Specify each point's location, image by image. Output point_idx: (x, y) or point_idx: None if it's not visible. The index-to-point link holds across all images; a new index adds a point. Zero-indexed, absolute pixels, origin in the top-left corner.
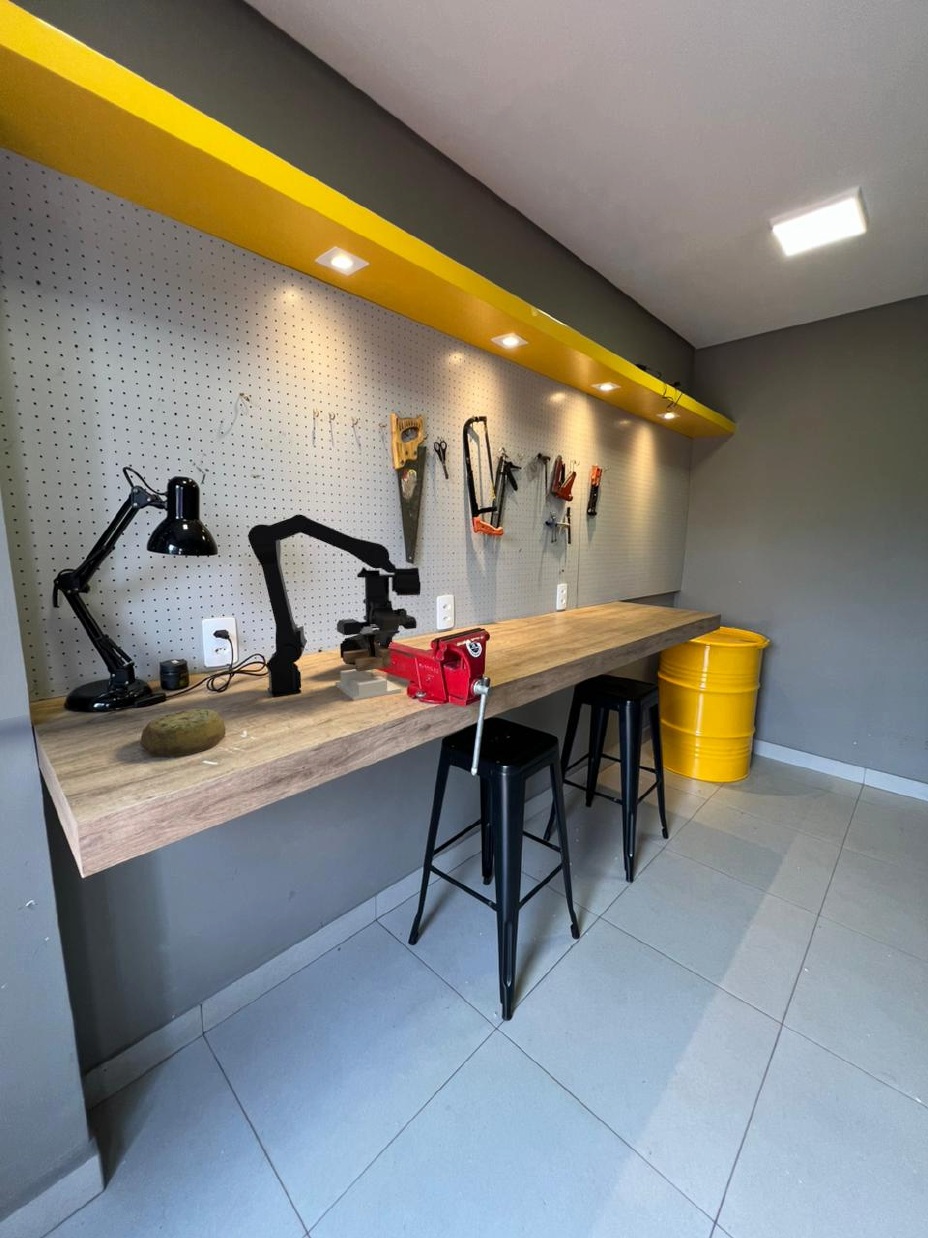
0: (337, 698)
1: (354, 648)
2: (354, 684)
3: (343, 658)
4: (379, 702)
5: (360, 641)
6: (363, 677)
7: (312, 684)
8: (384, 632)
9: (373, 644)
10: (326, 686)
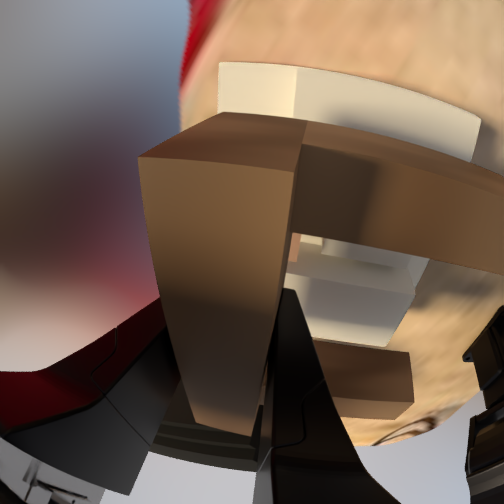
0: None
1: None
2: None
3: None
4: (393, 7)
5: (230, 447)
6: (330, 265)
7: (428, 346)
8: (97, 465)
9: (287, 403)
10: (420, 315)
